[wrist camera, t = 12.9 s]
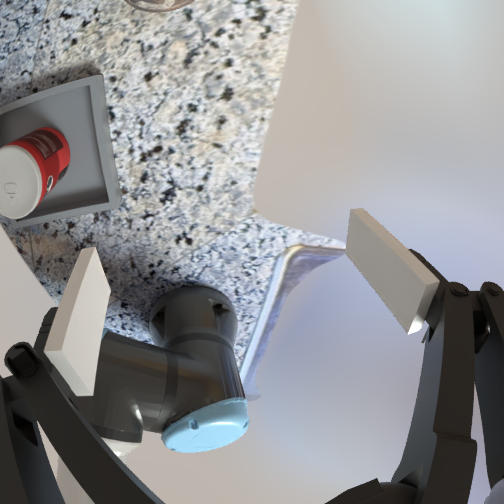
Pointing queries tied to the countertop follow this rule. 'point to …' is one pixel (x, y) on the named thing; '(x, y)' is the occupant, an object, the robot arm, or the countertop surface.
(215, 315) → the robot arm
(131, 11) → the countertop surface
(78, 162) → the tray
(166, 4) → the pottery
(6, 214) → the canned food
